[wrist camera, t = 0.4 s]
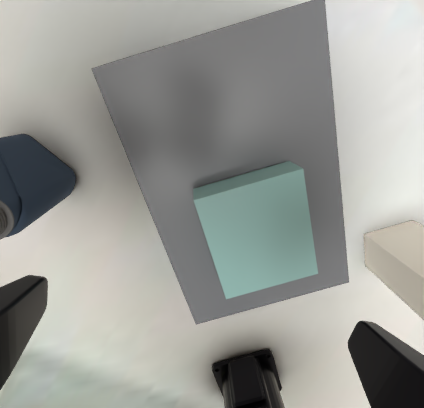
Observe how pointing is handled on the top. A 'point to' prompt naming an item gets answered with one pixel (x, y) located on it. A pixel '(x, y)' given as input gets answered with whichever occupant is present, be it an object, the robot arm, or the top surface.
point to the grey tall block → (399, 261)
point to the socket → (232, 138)
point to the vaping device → (29, 182)
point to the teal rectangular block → (258, 228)
